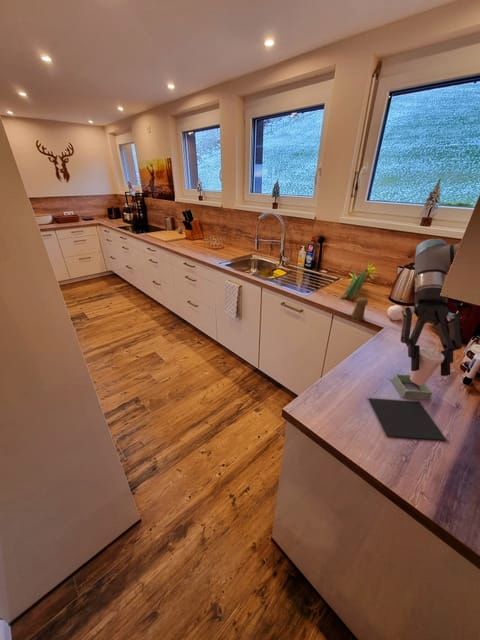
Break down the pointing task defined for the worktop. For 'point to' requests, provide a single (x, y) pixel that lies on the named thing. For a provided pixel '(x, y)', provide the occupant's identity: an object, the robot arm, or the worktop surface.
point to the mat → (405, 419)
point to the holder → (405, 393)
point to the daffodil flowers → (358, 282)
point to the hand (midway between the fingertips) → (430, 372)
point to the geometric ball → (395, 312)
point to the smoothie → (427, 364)
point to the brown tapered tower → (359, 309)
